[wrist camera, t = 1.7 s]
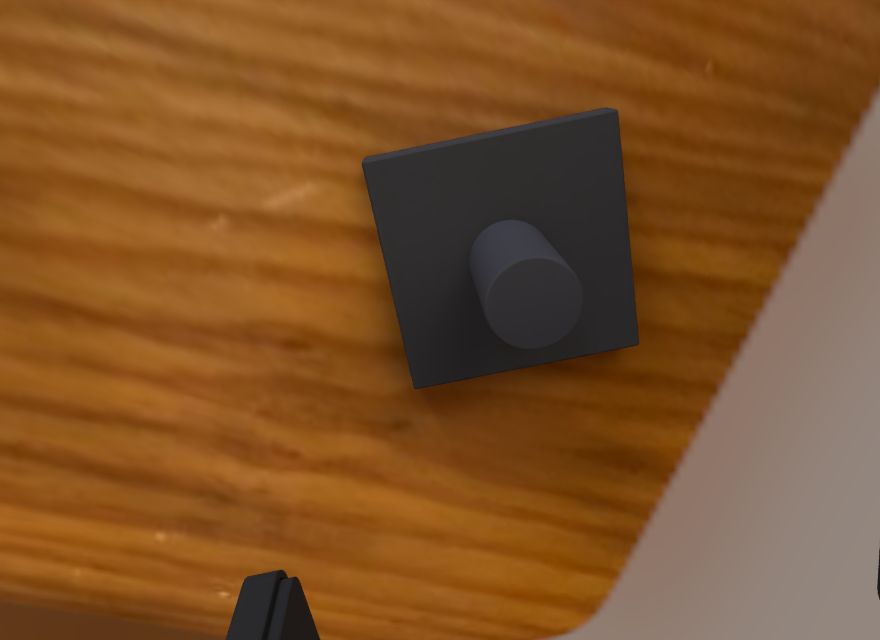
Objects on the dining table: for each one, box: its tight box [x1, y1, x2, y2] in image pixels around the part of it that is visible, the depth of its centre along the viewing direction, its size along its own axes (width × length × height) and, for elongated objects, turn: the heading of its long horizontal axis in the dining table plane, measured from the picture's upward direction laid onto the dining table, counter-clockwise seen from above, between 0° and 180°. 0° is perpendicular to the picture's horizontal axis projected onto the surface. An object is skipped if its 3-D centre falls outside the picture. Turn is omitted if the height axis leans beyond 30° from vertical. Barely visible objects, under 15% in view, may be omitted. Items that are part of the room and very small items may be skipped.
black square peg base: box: [362, 108, 639, 389], centre depth 22 cm, size 9×9×6 cm
